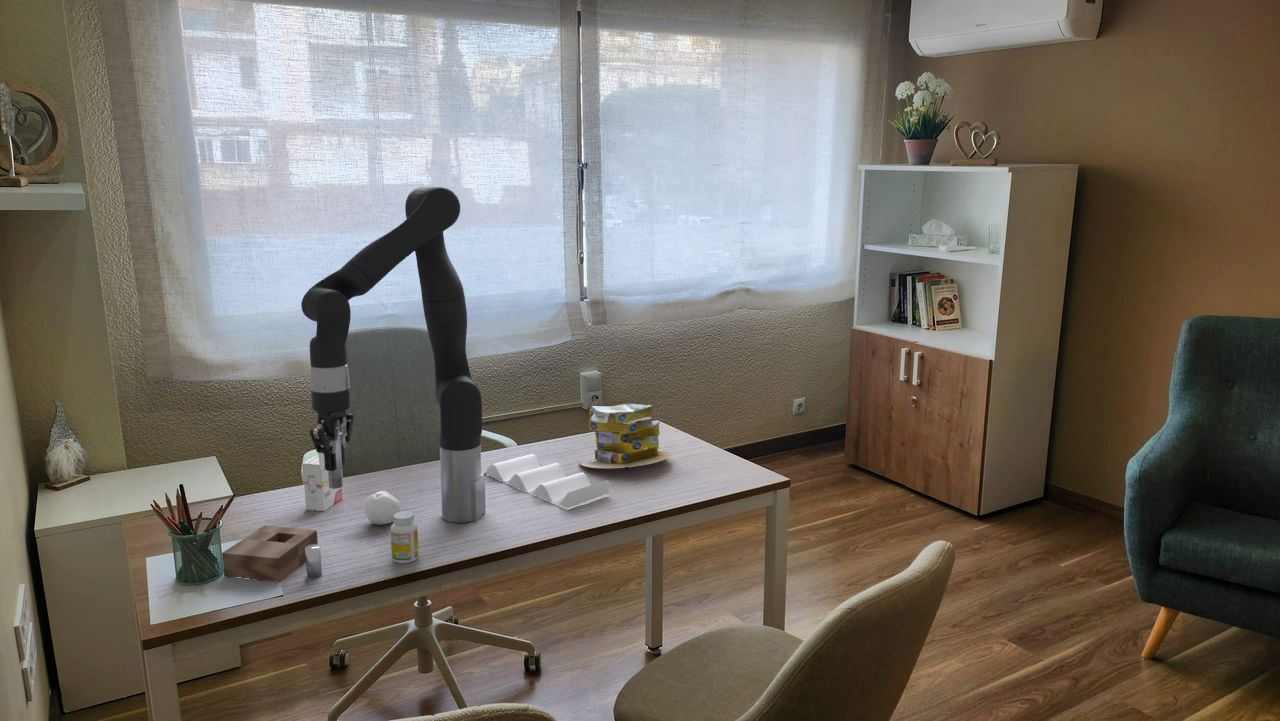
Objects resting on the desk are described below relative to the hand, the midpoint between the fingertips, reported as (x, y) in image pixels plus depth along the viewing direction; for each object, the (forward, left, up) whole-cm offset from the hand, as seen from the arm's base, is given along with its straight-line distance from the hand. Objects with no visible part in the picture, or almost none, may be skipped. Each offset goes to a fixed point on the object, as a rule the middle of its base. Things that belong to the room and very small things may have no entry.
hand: (335, 467), depth 180 cm
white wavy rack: (-31, -47, -19) cm, 59 cm away
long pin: (0, 0, -4) cm, 4 cm away
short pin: (-1, +12, -18) cm, 22 cm away
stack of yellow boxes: (-48, -67, -19) cm, 85 cm away
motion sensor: (-2, -15, -19) cm, 24 cm away
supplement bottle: (-15, +1, -19) cm, 24 cm away
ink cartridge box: (+17, -23, -19) cm, 34 cm away
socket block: (+10, +9, -18) cm, 23 cm away
